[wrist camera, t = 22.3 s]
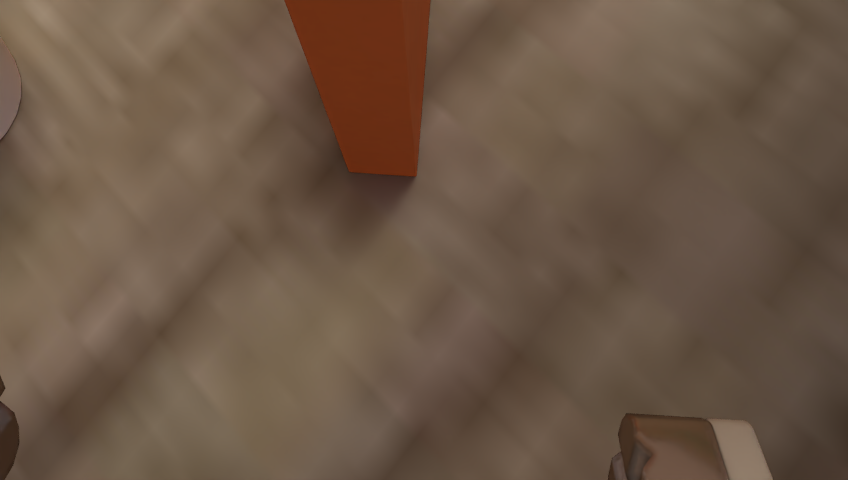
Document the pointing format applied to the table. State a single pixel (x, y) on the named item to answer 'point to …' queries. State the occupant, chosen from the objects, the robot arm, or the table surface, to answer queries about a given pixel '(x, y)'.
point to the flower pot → (8, 89)
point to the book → (368, 76)
